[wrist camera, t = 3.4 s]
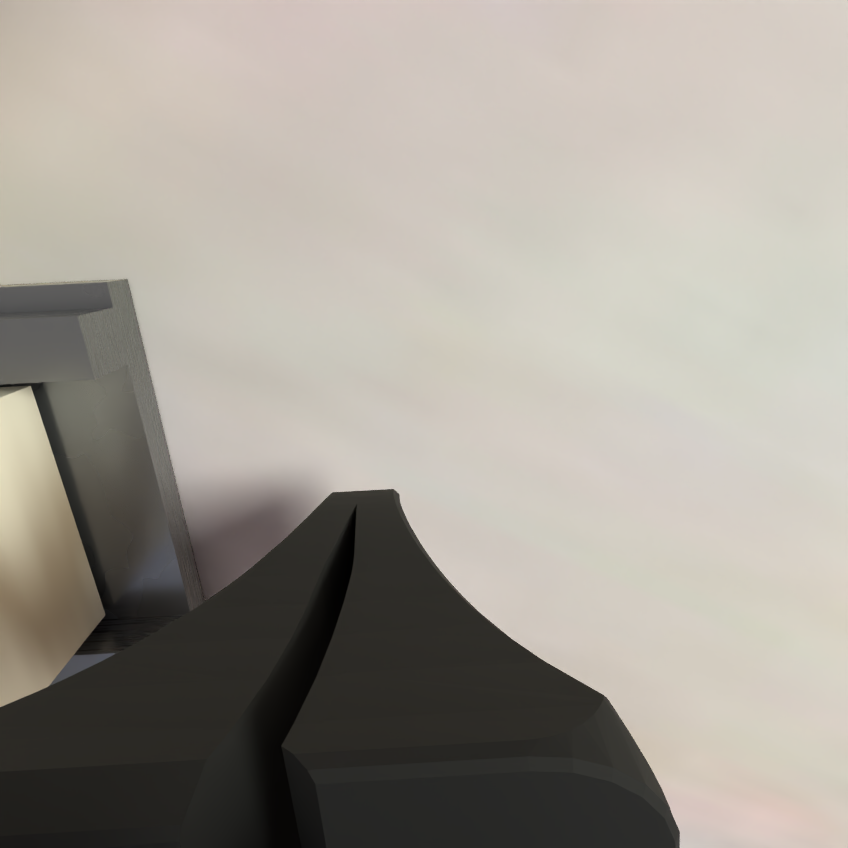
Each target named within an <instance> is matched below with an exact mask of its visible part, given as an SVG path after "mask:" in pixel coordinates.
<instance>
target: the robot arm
mask: <svg viewBox="0 0 848 848" xmlns="http://www.w3.org/2000/svg"><path fill="white" fill-rule="evenodd" d="M679 837H680V832H679V829H678V827H677V825H676V822H675V820H674V818H673V816H672V813H671V810H670V807H669V805H668V802H667V800H666V798H665V796H664V793H663V791H662V789H661V787H660V785H659V783H658V781H657V779H656V777H655V775H654V773H653V771H652V770H651V768H650V766H649V764H648V762H647V761H646V759H645V757H644V756H643V754H642V752H641V751H640V749H639V747H638V746H637V744H636V742H635V741H634V739H633V737H632V736H631V734H630V733H629V731H628V730H627V728H626V726H625V725H624V723H623V722H622V720H621V719H620V717H619V715H618V714H617V712H616V711H615V709H614V708H613V706H612V705H611V703H610V702H609V700H608V699H607V698H606V697H605V696H604V695H602V694H601V693H599V692H597V691H595V690H594V689H592V688H590V687H588V686H587V685H585V684H583V683H581V682H580V681H578V680H576V679H574V678H573V677H571V676H569V675H567V674H566V673H564V672H562V671H560V670H559V669H557V668H555V667H553V666H552V665H550V664H548V663H546V662H545V661H543V660H542V659H540V658H538V657H537V656H535V655H534V654H533V653H531V652H530V651H528V650H527V649H525V648H524V647H522V646H521V645H520V644H518V643H517V642H515V641H514V640H512V639H511V638H510V637H508V636H507V635H506V634H505V633H504V632H502V631H501V630H500V629H499V628H497V627H496V626H495V625H494V624H493V623H491V622H490V621H489V620H488V619H487V618H485V617H484V616H483V615H482V614H481V613H479V612H478V611H477V610H476V609H475V608H474V607H473V606H472V605H471V604H470V603H469V602H468V601H467V600H466V599H465V598H464V597H463V596H462V595H461V594H460V593H459V592H458V591H457V590H456V589H455V587H454V586H453V585H452V584H451V583H450V582H449V581H448V580H447V578H446V577H445V576H444V575H443V574H442V572H441V571H440V570H439V569H438V567H437V566H436V565H435V563H434V562H433V561H432V559H431V558H430V557H429V555H428V554H427V553H426V551H425V550H424V548H423V547H422V545H421V544H420V542H419V540H418V538H417V537H416V535H415V533H414V532H413V530H412V528H411V527H410V525H409V523H408V521H407V519H406V516H405V514H404V512H403V510H402V507H401V504H400V498H399V494H398V493H397V492H396V491H395V490H394V489H388V490H370V491H351V492H333V493H332V494H330V495H329V496H328V497H327V498H326V499H325V500H324V501H323V502H322V503H321V504H320V505H319V506H318V507H317V508H316V509H315V510H314V511H313V512H312V513H311V514H310V515H309V516H308V517H307V518H306V519H305V520H304V521H303V522H302V523H301V524H300V525H299V526H298V527H297V528H296V529H295V530H294V531H293V532H292V533H291V534H290V535H289V536H288V537H287V538H286V539H284V540H283V541H282V542H281V543H280V544H279V545H278V546H276V547H275V548H274V549H273V550H272V551H271V552H269V553H268V554H267V555H266V556H265V557H264V558H262V559H261V560H260V561H259V562H258V563H257V564H255V565H254V566H253V567H252V568H251V569H249V570H248V571H247V572H246V573H244V574H243V575H242V576H240V577H239V578H238V579H236V580H235V581H234V582H232V583H231V584H230V585H228V586H227V587H226V588H224V589H223V590H221V591H220V592H218V593H217V594H215V595H214V596H213V597H211V598H210V599H208V600H207V601H205V602H204V603H202V604H201V605H199V606H198V607H196V608H195V609H193V610H192V611H190V612H188V613H186V614H185V615H183V616H181V617H180V618H178V619H176V620H175V621H173V622H171V623H170V624H168V625H166V626H165V627H163V628H161V629H159V630H158V631H156V632H154V633H153V634H151V635H149V636H148V637H146V638H144V639H143V640H141V641H139V642H137V643H135V644H134V645H132V646H130V647H128V648H126V649H124V650H122V651H120V652H118V653H116V654H114V655H112V656H111V657H109V658H107V659H105V660H103V661H101V662H99V663H97V664H95V665H93V666H91V667H89V668H86V669H84V670H82V671H80V672H78V673H76V674H74V675H72V676H70V677H68V678H66V679H64V680H62V681H59V682H57V683H55V684H53V685H51V686H48V687H46V688H44V689H42V690H40V691H37V692H35V693H33V694H30V695H28V696H26V697H23V698H21V699H18V700H16V701H14V702H11V703H9V704H6V705H4V706H2V707H0V848H679Z"/></svg>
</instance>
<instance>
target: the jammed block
mask: <svg viewBox="0 0 848 848" xmlns="http://www.w3.org/2000/svg"><path fill="white" fill-rule="evenodd" d="M104 616H105V612H104V609H103V605H102V602H101V599H100V596H99V593H98V590H97V587H96V584H95V581H94V578H93V575H92V572H91V569H90V566H89V563H88V560H87V556H86V553H85V550H84V547H83V544H82V541H81V538H80V535H79V532H78V529H77V526H76V523H75V520H74V517H73V514H72V510H71V507H70V504H69V501H68V498H67V495H66V492H65V489H64V486H63V483H62V480H61V477H60V474H59V471H58V468H57V465H56V461H55V458H54V455H53V452H52V449H51V446H50V443H49V440H48V437H47V434H46V431H45V428H44V425H43V422H42V419H41V415H40V412H39V409H38V406H37V403H36V400H35V397H34V394H33V391H32V388H31V386H15V387H0V707H2V706H4V705H6V704H9V703H11V702H14V701H16V700H18V699H21V698H23V697H26V696H28V695H30V694H33V693H35V692H37V691H40V690H42V689H44V688H46V687H48V686H49V685H50V684H51V683H52V681H53V680H54V679H55V678H56V676H57V675H58V674H59V673H60V671H61V670H62V669H63V668H64V666H65V665H66V664H67V663H68V661H69V660H70V659H71V658H72V656H73V655H74V654H75V653H76V651H77V650H78V649H79V648H80V646H81V645H82V644H83V643H84V641H85V640H86V639H87V638H88V636H89V635H90V634H91V633H92V631H93V630H94V629H95V628H96V626H97V625H98V624H99V623H100V621H101V620H102V619H103V618H104Z"/></svg>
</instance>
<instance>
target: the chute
mask: <svg viewBox="0 0 848 848" xmlns="http://www.w3.org/2000/svg"><path fill="white" fill-rule="evenodd" d="M15 386H31V388H32V391H33V394H34V397H35V400H36V403H37V406H38V409H39V412H40V415H41V419H42V422H43V425H44V428H45V431H46V434H47V437H48V440H49V443H50V446H51V449H52V452H53V455H54V458H55V461H56V465H57V468H58V471H59V474H60V477H61V480H62V483H63V486H64V489H65V492H66V495H67V498H68V501H69V504H70V507H71V510H72V514H73V517H74V520H75V523H76V526H77V529H78V532H79V535H80V538H81V541H82V544H83V547H84V550H85V553H86V556H87V560H88V563H89V566H90V569H91V572H92V575H93V578H94V581H95V584H96V587H97V590H98V593H99V596H100V599H101V602H102V605H103V609H104V612H105V616H104V618H103V619H102V620H101V621H100V623H99V624H98V625H97V626H96V628H95V629H94V630H93V631H92V633H91V634H90V635H89V636H88V638H87V639H86V640H85V641H84V643H83V644H82V645H81V646H80V648H79V649H78V650H77V651H76V653H75V654H74V655H73V656H72V658H71V659H70V660H69V661H68V663H67V664H66V665H65V666H64V668H63V669H62V670H61V671H60V673H59V674H58V675H57V676H56V678H55V679H54V680H53V681H52V683H51V684H50V685H49V686H51V685H53V684H55V683H57V682H59V681H62V680H64V679H66V678H68V677H70V676H72V675H74V674H76V673H78V672H80V671H82V670H84V669H86V668H89V667H91V666H93V665H95V664H97V663H99V662H101V661H103V660H105V659H107V658H109V657H111V656H112V655H114V654H116V653H118V652H120V651H122V650H124V649H126V648H128V647H130V646H132V645H134V644H135V643H137V642H139V641H141V640H143V639H144V638H146V637H148V636H149V635H151V634H153V633H154V632H156V631H158V630H159V629H161V628H163V627H165V626H166V625H168V624H170V623H171V622H173V621H175V620H176V619H178V618H180V617H181V616H183V615H185V614H186V613H188V612H190V611H192V610H193V609H195V608H196V607H198V606H199V605H201V604H202V603H204V597H203V593H202V589H201V585H200V581H199V577H198V572H197V568H196V564H195V560H194V556H193V551H192V547H191V543H190V539H189V535H188V531H187V526H186V522H185V518H184V514H183V510H182V505H181V501H180V497H179V493H178V489H177V485H176V480H175V476H174V472H173V468H172V464H171V460H170V455H169V451H168V447H167V443H166V439H165V434H164V430H163V426H162V422H161V418H160V414H159V409H158V405H157V401H156V397H155V393H154V388H153V384H152V380H151V376H150V372H149V368H148V363H147V359H146V355H145V351H144V347H143V342H142V338H141V334H140V330H139V326H138V322H137V317H136V313H135V309H134V305H133V301H132V296H131V292H130V288H129V284H128V280H127V279H120V280H99V281H78V282H58V283H37V284H16V285H0V387H15Z"/></svg>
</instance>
